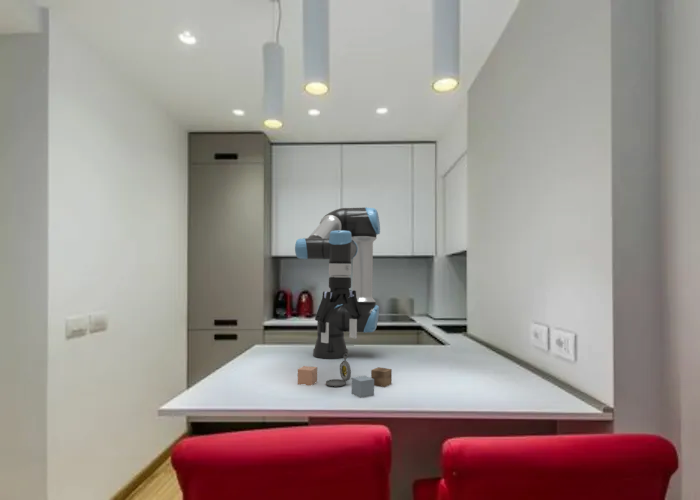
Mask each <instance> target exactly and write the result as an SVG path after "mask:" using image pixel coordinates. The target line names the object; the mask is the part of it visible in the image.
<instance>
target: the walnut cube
mask: <svg viewBox="0 0 700 500" xmlns="http://www.w3.org/2000/svg"><path fill="white" fill-rule="evenodd" d="M370 372H371V375H370V378H372V379H374V387H380V388H381V387H382V388H386V387H388V386H390V385H392V379H393V378H392V374H393V373H392V368H386V367H378V366H377V367H376V368H374V369H371V370H370Z"/></svg>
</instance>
